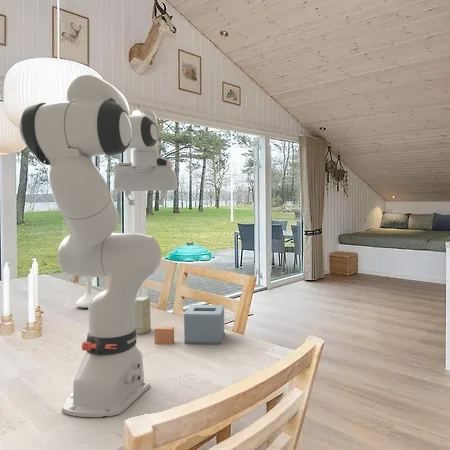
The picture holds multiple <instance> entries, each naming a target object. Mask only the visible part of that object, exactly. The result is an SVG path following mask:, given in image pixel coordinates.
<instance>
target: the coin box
mask: <svg viewBox="0 0 450 450" xmlns="http://www.w3.org/2000/svg"><path fill="white" fill-rule="evenodd" d="M183 323H184V324H183V329H184V331H183V334H184V336H183V337H184V338H183V339H184V345H216V344H217V345H219V344H220V345H222V341H223V339H224V336H225V305H224V304H190V305H189V306H188V308H187V309H186V311H185V312H184V313H183ZM220 345H219V346H220Z"/></svg>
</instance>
